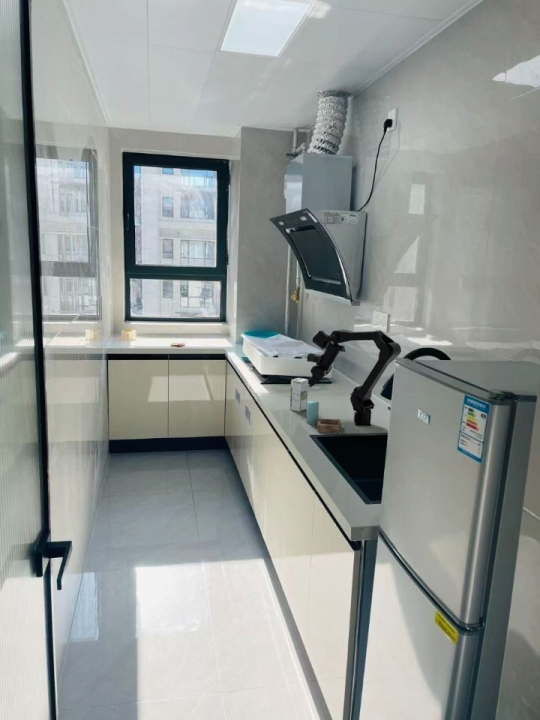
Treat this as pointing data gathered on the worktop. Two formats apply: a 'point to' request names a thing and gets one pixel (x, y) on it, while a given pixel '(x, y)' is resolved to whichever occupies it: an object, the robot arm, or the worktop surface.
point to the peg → (312, 412)
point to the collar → (329, 425)
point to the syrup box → (299, 394)
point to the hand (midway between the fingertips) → (312, 384)
